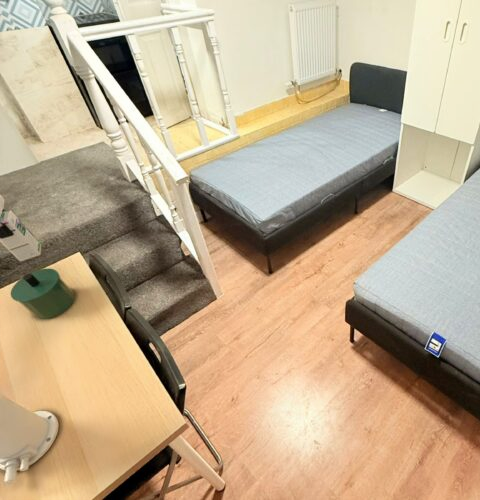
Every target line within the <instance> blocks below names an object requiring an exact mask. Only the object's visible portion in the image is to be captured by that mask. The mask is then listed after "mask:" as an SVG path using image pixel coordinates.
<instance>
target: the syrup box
mask: <svg viewBox="0 0 480 500" xmlns="http://www.w3.org/2000/svg"><path fill="white" fill-rule="evenodd" d="M0 221H1V222H2V224H5V225H6V226H7V227H8V228H9V229H10V230H11V231H12V232H13V233H14V235H13V236H10V237H6V238H3V239H1V238H0V244H1V245H2V246H4V247H5V248H6V250H7V251H9V252H10V253H11V254H12V255H13V256H14V257H15V258H16V259H17V260H18V261H19V262H23V261H27V260H29V259H32V258H36V257H38V256H41V253H42V243H41V242H40V241H39V240H38V238H36V237H35V235H34V234H33V233H32V231H30V229H29V228H28V227H27V226H26V225H25V224H24V223H23V221H21V219H19V217H18V216H17V215H16V214H15V213H14V212H13V211H12V210H11V209H7V210H6V211H2V213H1V216H0Z"/></svg>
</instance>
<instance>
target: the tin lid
mask: <svg viewBox="0 0 480 500" xmlns="http://www.w3.org/2000/svg"><path fill="white" fill-rule="evenodd" d="M59 278H61V276H60V273H59V272H58V270H56V269H54V268H41V269H37V270H34V271H31V272H29V273H26V274H25V275H24V276H22V277H21V278H20V279H19V280H18V281H16V283H15V284H14V285H13V286H12V287H11V289H10V297H11V299H12V300H14V301H15V302H18V303H20V302H28V301H32V300H35V299H38V298H40V297H42V296H44V295H45V294H47V293H48V292H50V291H51V290H52V289H53V288H54V287H55V286H56V285H57V283H58V281H59Z"/></svg>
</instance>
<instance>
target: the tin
mask: <svg viewBox="0 0 480 500" xmlns="http://www.w3.org/2000/svg"><path fill="white" fill-rule="evenodd" d="M75 298H76V295H75V293H74V291H73V290H72V289H71V287H70V286H69V285H68V284H67V283H66V282H65V281H64V280H63V278H62V277H60V278H59V281H58V283H57V285H56V286H55V287H54V288H53V289H52V290H51V291H50V292H48V293H47V294H45V295H44V296H42V297H40V298H38V299H35V300H32V301H28V302H19V304H20V305H22V306H23V307H24V308H25V309H26V310H27V311H29V312H30V313H31V314H32V315H33V316H34V317H35V318H37V319H39V320H40V319H41V320H48V319H52V318H55V317H57V316H60V315H61V314H64V313H65V312H66V311H67V310H68V309H69V308H70V307H71V306H72V305H73V303H74V302H75Z"/></svg>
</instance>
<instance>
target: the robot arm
mask: <svg viewBox="0 0 480 500" xmlns="http://www.w3.org/2000/svg"><path fill="white" fill-rule="evenodd" d="M4 205H5V198H4V197H3V196H2V194H0V216H1V213H2V211H6V210H8V209H7V208H6V207H5V206H4ZM13 235H14V233H13V232H12V231H11V230H10V229H9V228H8V227H7V226H6V225H5V224H2V222H1V221H0V238H1V239H3V238H6V237H10V236H13ZM58 432H59V420H58V418H57V416H56V415H55V414H53V412H50V411H48V410H47V411H46V410H37V411H34V412H33V411H32V410H30V409H29V408H27V407H25V406H23V405H21V404H19V403H18V402H16V401H14V400H12V399H11V398H9V397H6V396H5V395H4V394H2V393H0V469H1V470H2V471H5V474H4V477H3V478H4V480H3V485H6V486H7V485H11V484H13V483H15V482H16V481H17V475H18V472H17V471H20V472H25V471H27V470H29V467H30V466H31V465H34V463H36V462H37V461H38V460H40V459H41V458H42V457H43V456H44V455H45V454H46V453H47V452H48V451H49V449H50V448H51V446H52V445H53V443H54V442H55V440H56V437H57V435H58Z"/></svg>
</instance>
